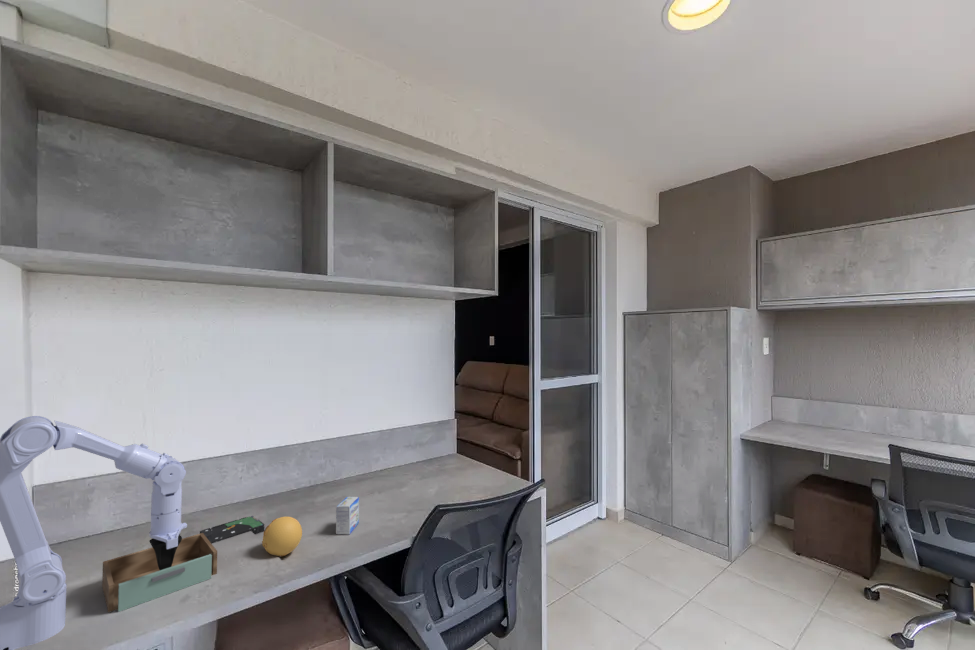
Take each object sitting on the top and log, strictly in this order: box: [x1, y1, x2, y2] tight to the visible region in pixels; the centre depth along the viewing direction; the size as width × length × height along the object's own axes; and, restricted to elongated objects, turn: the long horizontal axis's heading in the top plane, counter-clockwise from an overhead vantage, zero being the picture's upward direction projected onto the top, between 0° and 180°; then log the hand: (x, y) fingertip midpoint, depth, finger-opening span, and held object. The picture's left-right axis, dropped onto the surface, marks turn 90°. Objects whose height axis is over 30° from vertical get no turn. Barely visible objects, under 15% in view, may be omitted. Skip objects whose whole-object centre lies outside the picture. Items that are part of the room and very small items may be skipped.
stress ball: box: [261, 516, 303, 558], centre depth 115 cm, size 10×10×10 cm
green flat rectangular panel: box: [117, 554, 212, 613], centre depth 95 cm, size 17×2×6 cm, turn 137°
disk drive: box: [199, 515, 266, 545], centre depth 126 cm, size 10×3×15 cm
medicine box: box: [335, 496, 360, 535], centre depth 131 cm, size 8×4×9 cm, turn 177°
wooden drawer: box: [101, 532, 218, 613], centre depth 101 cm, size 20×14×7 cm
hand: (165, 568), depth 98 cm, fingers closed
